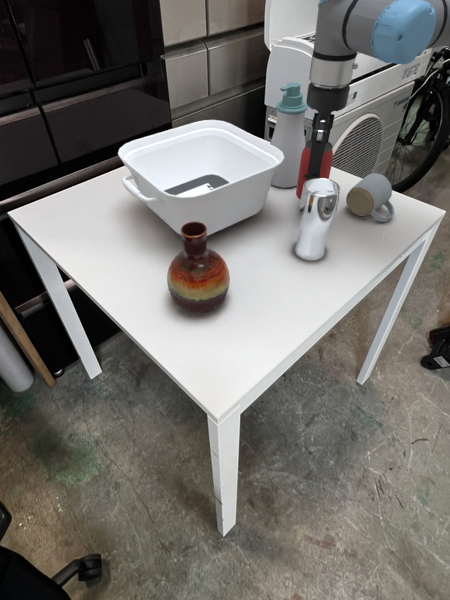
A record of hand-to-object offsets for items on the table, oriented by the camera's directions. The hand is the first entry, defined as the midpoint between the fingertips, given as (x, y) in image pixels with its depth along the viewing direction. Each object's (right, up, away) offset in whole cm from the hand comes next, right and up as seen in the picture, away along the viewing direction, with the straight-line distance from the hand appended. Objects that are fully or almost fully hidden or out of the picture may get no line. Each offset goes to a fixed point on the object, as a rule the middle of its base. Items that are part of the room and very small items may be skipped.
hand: (310, 194), depth 85 cm
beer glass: (-2, -14, -6) cm, 15 cm away
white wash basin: (-25, -3, +4) cm, 25 cm away
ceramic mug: (+15, -3, +3) cm, 15 cm away
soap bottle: (-4, +8, +14) cm, 17 cm away
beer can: (0, 0, 0) cm, 1 cm away
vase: (-24, -24, -15) cm, 37 cm away
